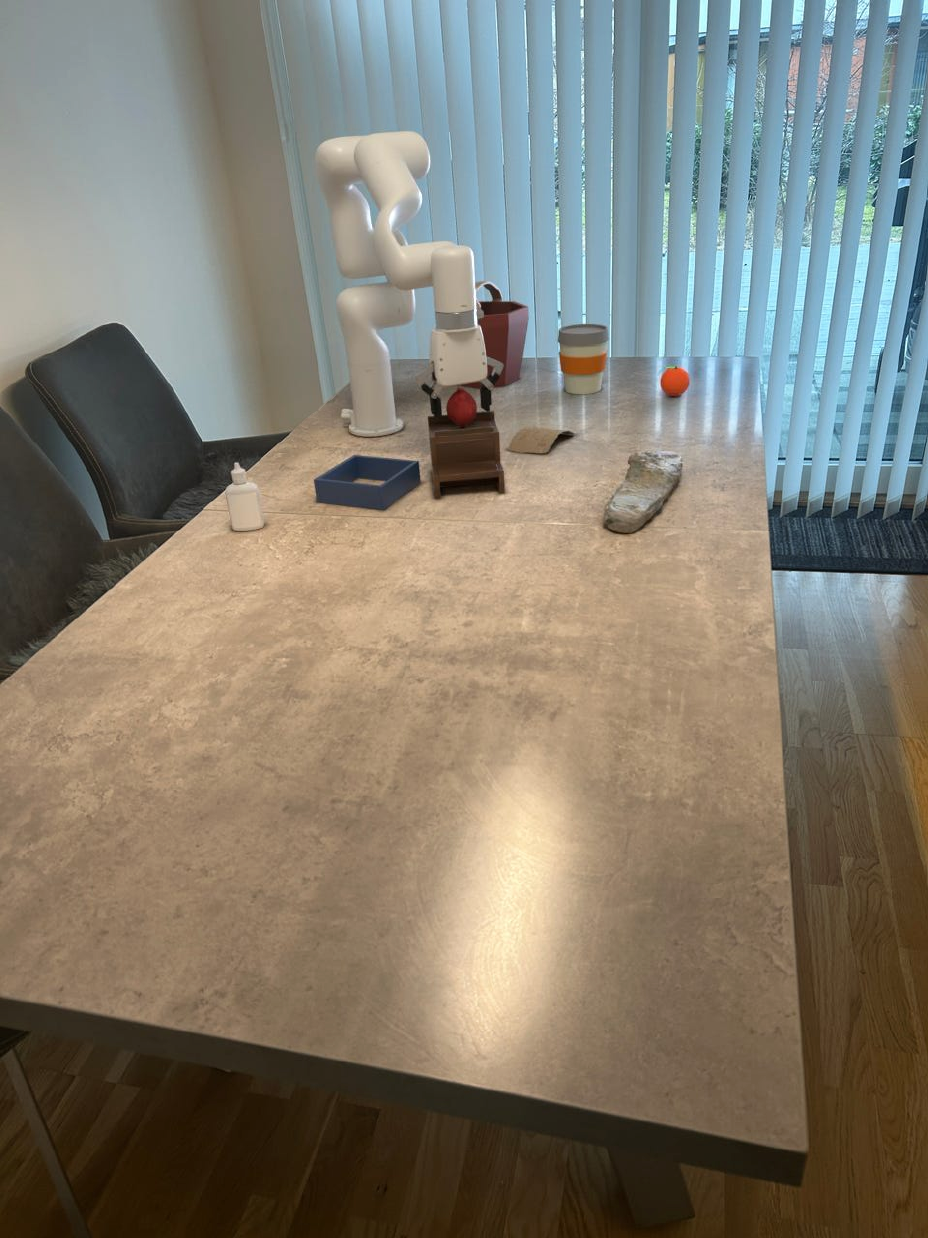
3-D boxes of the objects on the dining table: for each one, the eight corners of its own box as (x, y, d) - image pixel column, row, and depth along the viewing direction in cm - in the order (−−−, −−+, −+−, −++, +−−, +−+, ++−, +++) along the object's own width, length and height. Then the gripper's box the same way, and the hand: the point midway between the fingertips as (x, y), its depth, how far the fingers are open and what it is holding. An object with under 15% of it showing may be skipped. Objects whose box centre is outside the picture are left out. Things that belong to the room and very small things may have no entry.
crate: (317, 502, 168) (313, 479, 165) (356, 476, 179) (354, 454, 177) (384, 510, 162) (381, 486, 160) (421, 482, 173) (419, 460, 171)
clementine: (650, 397, 216) (652, 367, 212) (662, 390, 221) (664, 361, 217) (682, 400, 212) (683, 370, 208) (693, 393, 217) (695, 364, 213)
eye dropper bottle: (255, 533, 156) (242, 468, 150) (228, 530, 158) (215, 466, 152) (268, 524, 159) (257, 460, 154) (242, 521, 161) (230, 457, 156)
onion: (482, 424, 171) (480, 382, 167) (470, 432, 166) (467, 390, 163) (455, 422, 173) (452, 380, 169) (442, 430, 169) (439, 388, 165)
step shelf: (504, 493, 166) (502, 433, 160) (435, 499, 165) (430, 439, 160) (496, 466, 179) (493, 410, 173) (432, 472, 178) (427, 415, 173)
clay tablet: (547, 455, 183) (547, 442, 182) (505, 449, 188) (504, 437, 186) (577, 435, 193) (577, 423, 192) (536, 430, 198) (536, 418, 197)
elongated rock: (588, 537, 149) (646, 547, 145) (589, 509, 146) (649, 518, 142) (640, 459, 175) (691, 466, 172) (642, 434, 172) (694, 440, 169)
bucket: (496, 395, 226) (491, 292, 214) (425, 387, 237) (417, 289, 225) (542, 372, 244) (540, 275, 232) (475, 366, 255) (469, 273, 243)
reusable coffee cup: (553, 385, 231) (553, 325, 224) (601, 381, 232) (602, 321, 225) (563, 397, 220) (563, 335, 213) (613, 393, 221) (614, 331, 214)
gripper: (492, 311, 166) (496, 402, 174) (404, 322, 161) (412, 415, 169) (508, 317, 159) (511, 411, 168) (416, 329, 155) (424, 425, 163)
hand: (461, 413), depth 168 cm, fingers open, 9 cm apart
